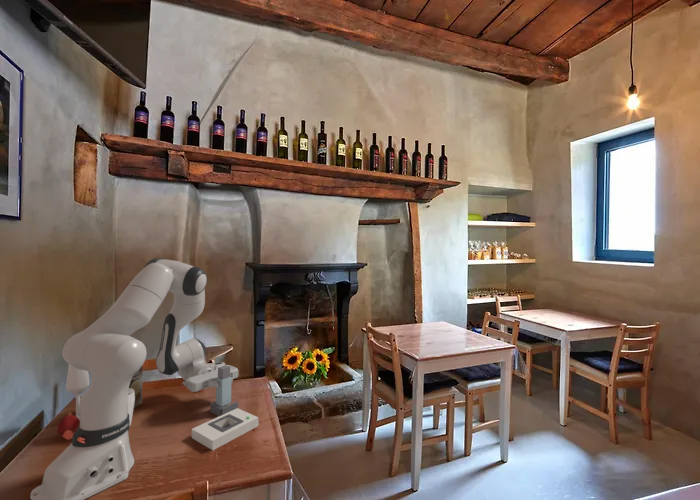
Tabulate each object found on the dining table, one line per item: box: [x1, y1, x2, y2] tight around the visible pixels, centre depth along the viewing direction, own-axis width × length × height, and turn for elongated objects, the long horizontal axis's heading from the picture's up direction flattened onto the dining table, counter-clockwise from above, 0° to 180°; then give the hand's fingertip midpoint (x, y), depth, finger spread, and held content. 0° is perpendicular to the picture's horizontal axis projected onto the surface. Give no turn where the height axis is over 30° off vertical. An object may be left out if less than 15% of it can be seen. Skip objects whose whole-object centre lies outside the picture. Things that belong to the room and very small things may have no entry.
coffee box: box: [129, 364, 144, 410], centre depth 133 cm, size 9×6×16 cm
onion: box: [56, 412, 80, 437], centre depth 113 cm, size 6×6×8 cm
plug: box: [215, 364, 232, 406], centre depth 131 cm, size 4×4×14 cm
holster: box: [210, 400, 239, 417], centre depth 131 cm, size 7×8×3 cm
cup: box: [128, 388, 135, 426], centre depth 119 cm, size 9×9×12 cm
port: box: [191, 407, 260, 451], centre depth 116 cm, size 18×12×3 cm, turn 145°
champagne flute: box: [65, 363, 91, 420], centre depth 123 cm, size 7×7×24 cm
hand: (225, 383), depth 131 cm, fingers closed on plug, 4 cm apart
